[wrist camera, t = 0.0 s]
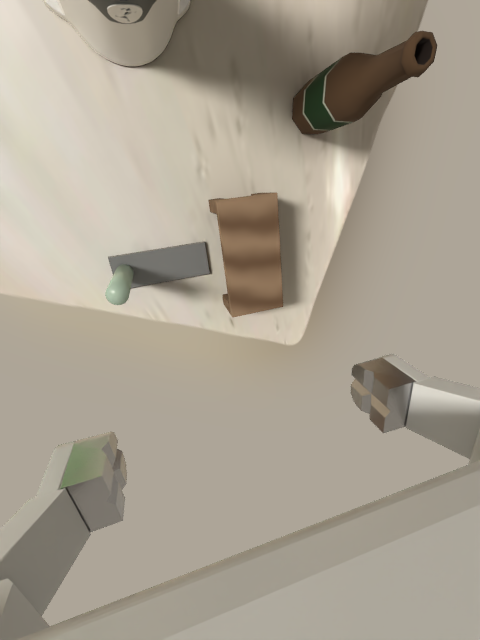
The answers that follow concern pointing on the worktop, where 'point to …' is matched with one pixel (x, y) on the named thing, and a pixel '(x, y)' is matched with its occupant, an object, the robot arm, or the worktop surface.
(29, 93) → the worktop surface
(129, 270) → the cylinder
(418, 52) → the beer bottle
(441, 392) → the robot arm
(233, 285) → the bench
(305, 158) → the worktop surface
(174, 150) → the worktop surface
